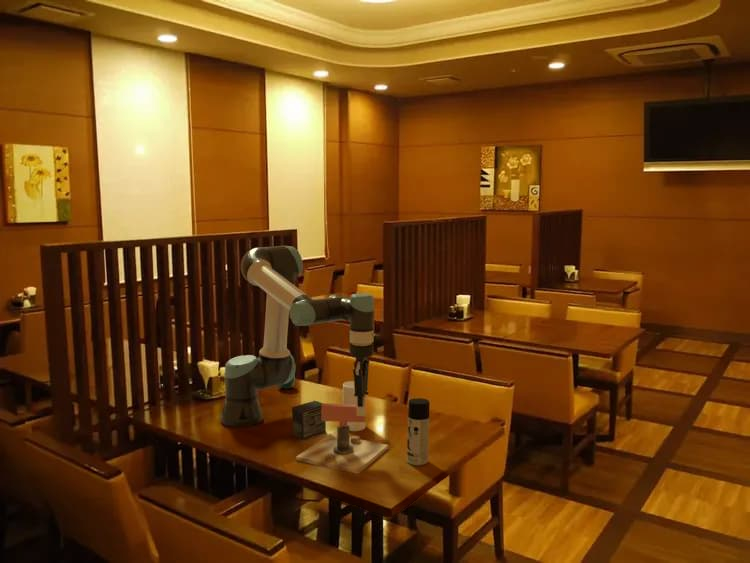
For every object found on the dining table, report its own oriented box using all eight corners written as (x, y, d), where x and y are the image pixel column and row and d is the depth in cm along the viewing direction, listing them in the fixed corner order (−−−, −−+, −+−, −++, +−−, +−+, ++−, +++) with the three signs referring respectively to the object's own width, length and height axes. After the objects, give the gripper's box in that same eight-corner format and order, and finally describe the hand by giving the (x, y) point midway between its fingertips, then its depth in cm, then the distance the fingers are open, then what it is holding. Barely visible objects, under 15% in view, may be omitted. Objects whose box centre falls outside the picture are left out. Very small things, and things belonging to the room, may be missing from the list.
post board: (296, 460, 202) (296, 432, 201) (330, 436, 222) (330, 411, 220) (358, 474, 193) (358, 445, 191) (388, 448, 212) (388, 421, 211)
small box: (314, 427, 230) (314, 399, 229) (326, 432, 225) (326, 404, 224) (291, 435, 223) (291, 406, 221) (302, 440, 218) (302, 410, 217)
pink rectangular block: (321, 426, 205) (321, 405, 204) (322, 423, 207) (322, 403, 206) (364, 428, 204) (365, 407, 203) (365, 425, 207) (365, 404, 206)
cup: (362, 432, 226) (362, 388, 224) (340, 430, 228) (340, 386, 226) (367, 424, 234) (367, 381, 232) (345, 422, 236) (346, 380, 234)
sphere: (273, 390, 272) (273, 372, 271) (279, 384, 280) (279, 367, 278) (292, 391, 270) (291, 373, 269) (297, 386, 278) (297, 368, 277)
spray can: (405, 457, 205) (406, 397, 202) (426, 457, 206) (427, 397, 203) (408, 466, 199) (409, 404, 196) (429, 465, 199) (431, 404, 196)
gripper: (369, 348, 193) (368, 423, 196) (377, 339, 206) (376, 409, 209) (345, 347, 194) (344, 421, 198) (354, 337, 207) (354, 407, 210)
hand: (361, 415), depth 203 cm, fingers closed
